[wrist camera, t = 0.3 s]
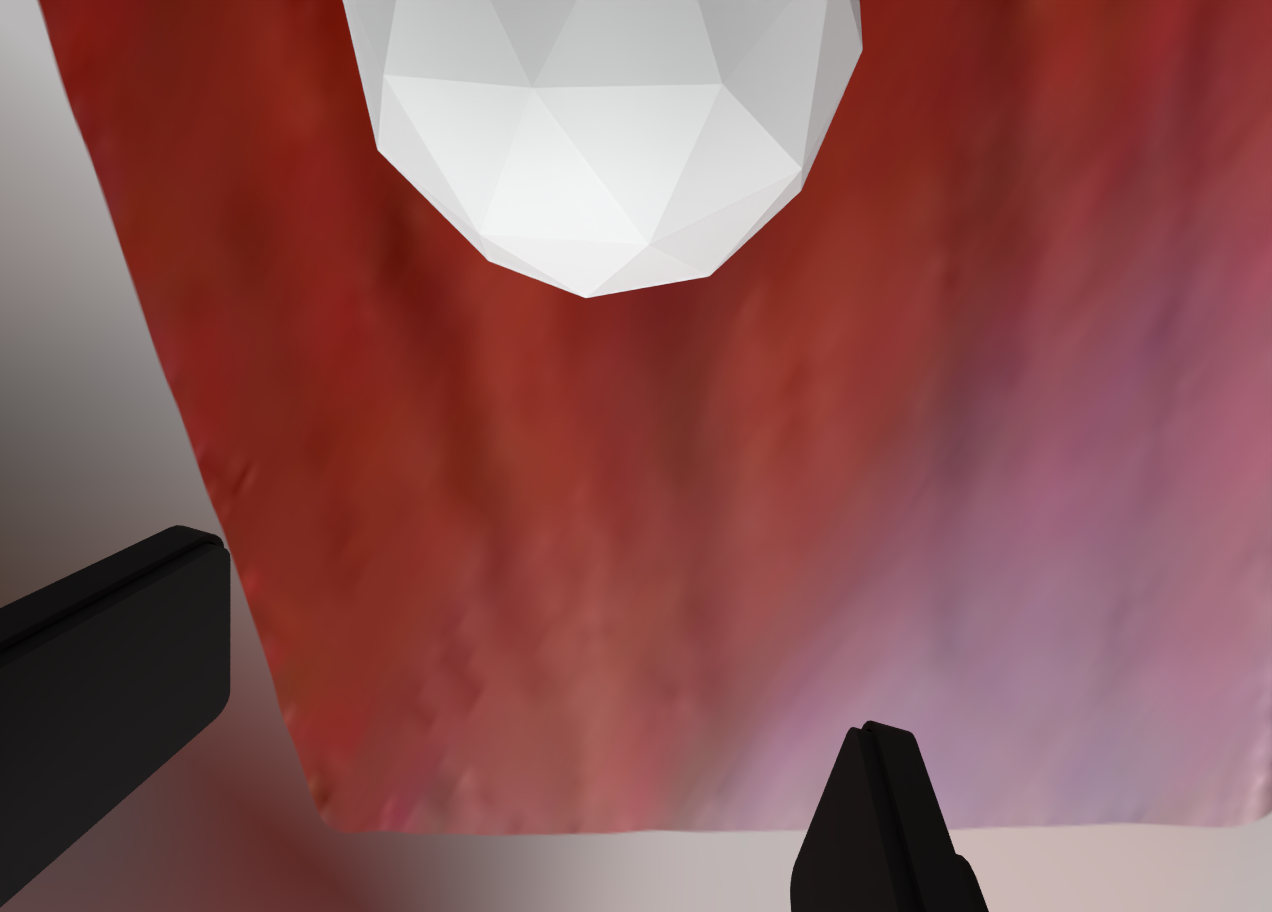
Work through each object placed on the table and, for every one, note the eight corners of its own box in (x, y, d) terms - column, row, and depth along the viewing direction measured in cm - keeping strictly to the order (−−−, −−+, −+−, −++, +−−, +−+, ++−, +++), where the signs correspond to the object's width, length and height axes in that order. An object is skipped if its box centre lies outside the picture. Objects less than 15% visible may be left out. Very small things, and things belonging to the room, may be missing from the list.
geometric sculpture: (741, 128, 40) (984, 232, 26) (452, 268, 39) (541, 463, 24) (662, -326, 27) (1062, -626, 13) (223, -146, 26) (119, -258, 11)
